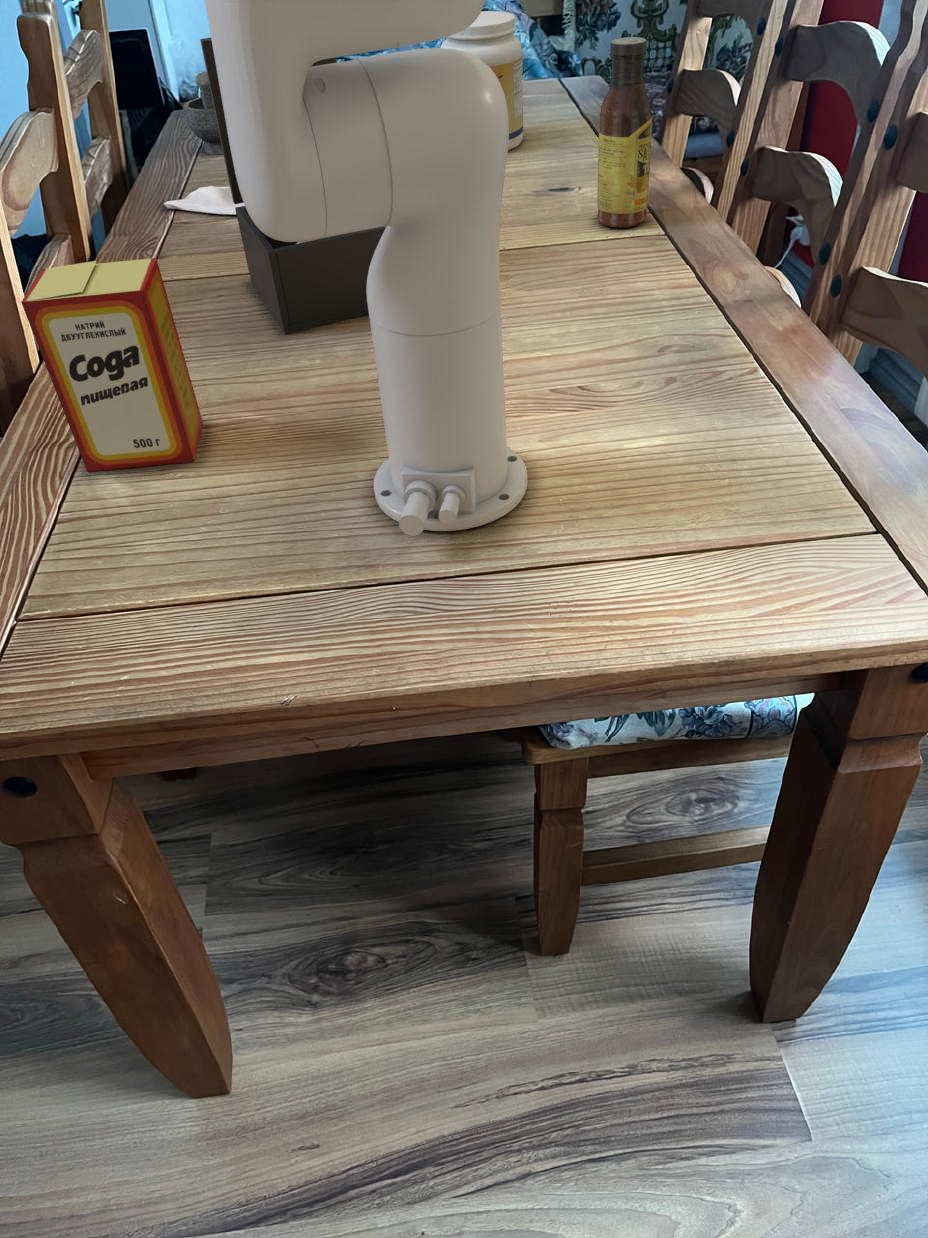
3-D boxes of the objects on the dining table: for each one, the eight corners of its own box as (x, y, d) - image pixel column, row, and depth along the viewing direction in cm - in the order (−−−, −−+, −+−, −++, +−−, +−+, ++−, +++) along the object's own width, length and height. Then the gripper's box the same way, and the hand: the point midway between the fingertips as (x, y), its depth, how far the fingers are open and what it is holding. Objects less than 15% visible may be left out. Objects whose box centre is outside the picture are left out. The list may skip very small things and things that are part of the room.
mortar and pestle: (197, 142, 160) (178, 61, 152) (254, 136, 161) (238, 55, 153) (191, 162, 152) (171, 78, 144) (251, 156, 152) (234, 71, 144)
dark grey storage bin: (403, 306, 107) (394, 225, 101) (284, 334, 103) (268, 252, 97) (359, 259, 118) (349, 183, 112) (251, 283, 114) (234, 207, 108)
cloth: (152, 223, 132) (147, 206, 131) (174, 190, 142) (170, 173, 141) (340, 210, 131) (338, 192, 130) (348, 177, 141) (346, 160, 140)
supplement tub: (435, 156, 146) (424, 27, 135) (458, 132, 155) (450, 8, 143) (513, 157, 143) (509, 26, 132) (532, 133, 151) (530, 7, 140)
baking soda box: (203, 423, 90) (155, 253, 79) (194, 460, 85) (141, 285, 74) (101, 433, 90) (40, 264, 79) (87, 471, 85) (19, 297, 74)
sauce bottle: (645, 230, 118) (655, 46, 105) (594, 230, 119) (598, 47, 106) (648, 211, 123) (658, 32, 110) (599, 211, 124) (603, 34, 111)
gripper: (143, -226, 73) (199, 32, 85) (358, -245, 77) (384, 3, 89) (130, -224, 79) (184, 19, 90) (332, -242, 83) (359, -8, 94)
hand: (284, 11), depth 89 cm, fingers open, 9 cm apart
